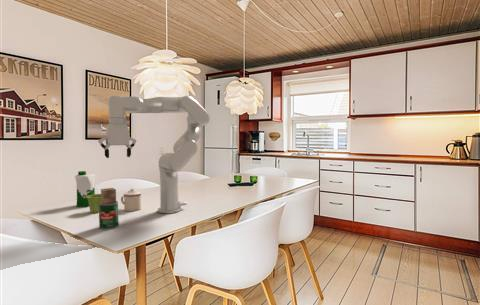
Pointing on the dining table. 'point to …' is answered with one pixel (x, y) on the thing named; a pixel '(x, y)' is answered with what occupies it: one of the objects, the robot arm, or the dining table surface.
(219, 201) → the dining table surface
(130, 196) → the teacup with lid
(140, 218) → the dining table surface
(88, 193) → the milk carton
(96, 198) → the plant pot
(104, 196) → the walnut block
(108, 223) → the canned tomato
